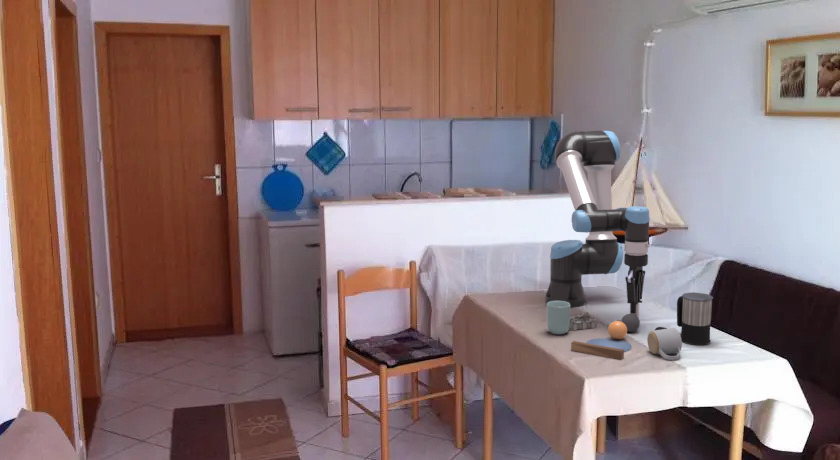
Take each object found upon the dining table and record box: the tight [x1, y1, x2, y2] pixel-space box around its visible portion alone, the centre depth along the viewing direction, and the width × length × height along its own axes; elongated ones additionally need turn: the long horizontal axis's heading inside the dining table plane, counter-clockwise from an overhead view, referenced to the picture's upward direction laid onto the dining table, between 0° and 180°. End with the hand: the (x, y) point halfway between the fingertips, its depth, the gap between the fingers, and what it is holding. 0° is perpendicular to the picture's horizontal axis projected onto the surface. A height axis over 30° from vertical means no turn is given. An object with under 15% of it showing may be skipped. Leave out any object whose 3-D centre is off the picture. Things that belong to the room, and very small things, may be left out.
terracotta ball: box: [607, 320, 628, 340], centre depth 246 cm, size 6×6×6 cm
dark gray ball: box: [621, 313, 641, 333], centre depth 254 cm, size 6×6×6 cm
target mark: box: [585, 337, 633, 353], centre depth 241 cm, size 14×14×1 cm
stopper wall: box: [570, 340, 625, 360], centre depth 233 cm, size 2×16×2 cm, turn 55°
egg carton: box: [568, 311, 598, 331], centre depth 261 cm, size 11×8×4 cm
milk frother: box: [653, 291, 714, 346], centre depth 243 cm, size 14×16×15 cm
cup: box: [546, 301, 571, 335], centre depth 254 cm, size 8×8×10 cm
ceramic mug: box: [646, 327, 683, 361], centre depth 231 cm, size 11×8×8 cm
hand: (634, 321), depth 259 cm, fingers closed
